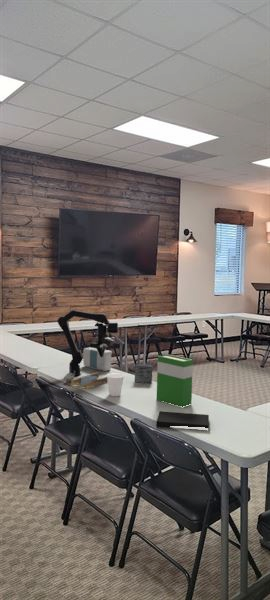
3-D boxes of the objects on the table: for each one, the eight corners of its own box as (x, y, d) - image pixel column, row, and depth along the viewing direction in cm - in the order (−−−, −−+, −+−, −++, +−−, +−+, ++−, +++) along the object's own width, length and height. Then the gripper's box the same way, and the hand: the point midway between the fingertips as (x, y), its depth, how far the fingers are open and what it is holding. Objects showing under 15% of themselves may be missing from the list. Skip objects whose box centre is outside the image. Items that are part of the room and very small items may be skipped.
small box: (152, 381, 278) (152, 364, 277) (151, 383, 271) (152, 366, 271) (135, 380, 279) (135, 363, 278) (134, 383, 272) (134, 366, 272)
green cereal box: (156, 400, 239) (157, 355, 237) (165, 397, 244) (166, 354, 243) (182, 408, 227) (183, 361, 225) (191, 405, 232) (192, 359, 230)
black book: (159, 417, 214) (159, 411, 214) (208, 420, 210) (208, 414, 210) (156, 427, 200) (156, 421, 200) (208, 432, 196) (209, 425, 196)
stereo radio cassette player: (82, 366, 311) (83, 338, 310) (91, 365, 318) (91, 337, 316) (104, 372, 298) (104, 342, 296) (112, 370, 304) (113, 341, 302)
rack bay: (69, 385, 264) (69, 380, 263) (96, 376, 284) (96, 372, 284) (86, 389, 256) (86, 384, 256) (113, 380, 277) (113, 375, 277)
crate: (80, 384, 266) (81, 377, 266) (87, 382, 272) (87, 374, 272) (90, 386, 263) (90, 378, 262) (97, 383, 269) (97, 376, 269)
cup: (126, 394, 249) (127, 374, 248) (118, 398, 240) (119, 378, 239) (111, 391, 253) (111, 372, 252) (102, 396, 244) (103, 376, 243)
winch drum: (64, 382, 270) (65, 369, 269) (69, 380, 273) (70, 368, 273) (72, 384, 266) (72, 371, 266) (77, 382, 270) (77, 370, 269)
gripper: (102, 336, 274) (102, 361, 275) (120, 332, 290) (120, 356, 291) (88, 334, 280) (88, 358, 282) (107, 330, 296) (106, 354, 297)
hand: (101, 357), depth 288 cm, fingers closed
